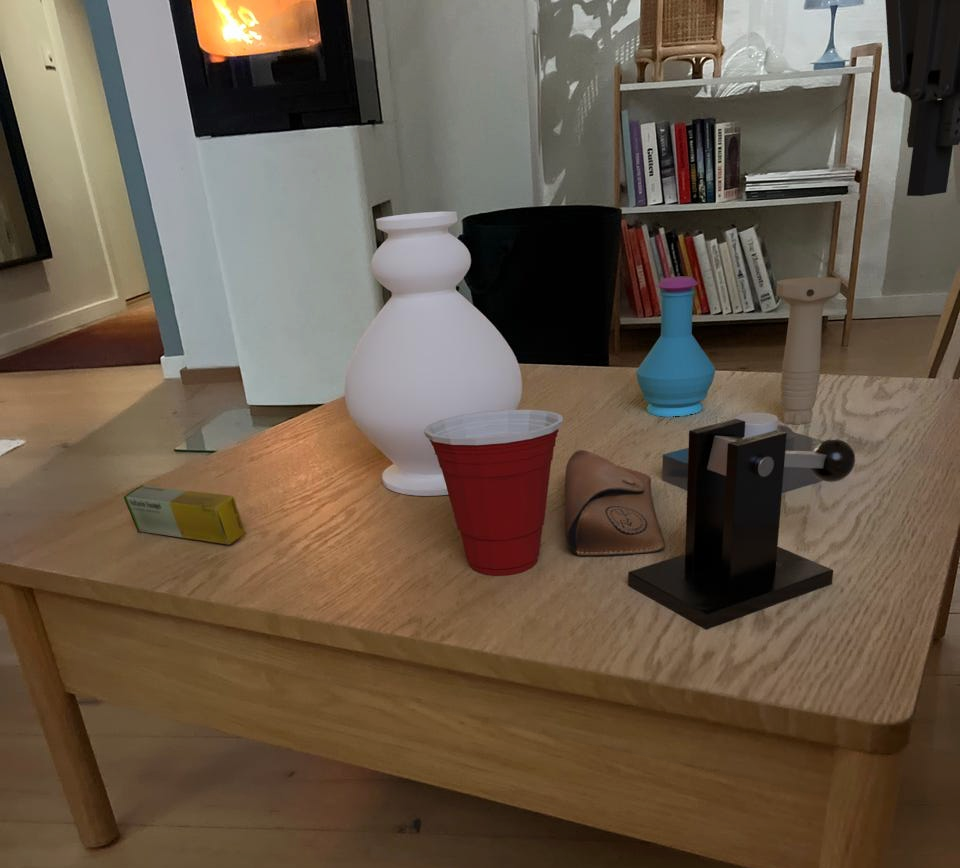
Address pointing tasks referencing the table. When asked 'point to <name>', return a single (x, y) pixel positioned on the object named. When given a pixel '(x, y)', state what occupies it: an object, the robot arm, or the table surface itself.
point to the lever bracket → (731, 535)
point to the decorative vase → (424, 352)
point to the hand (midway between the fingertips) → (926, 193)
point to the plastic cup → (497, 483)
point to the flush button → (758, 423)
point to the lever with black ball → (797, 458)
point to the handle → (803, 343)
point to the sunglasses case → (609, 509)
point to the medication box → (185, 514)
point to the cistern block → (793, 476)
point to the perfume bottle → (675, 356)
